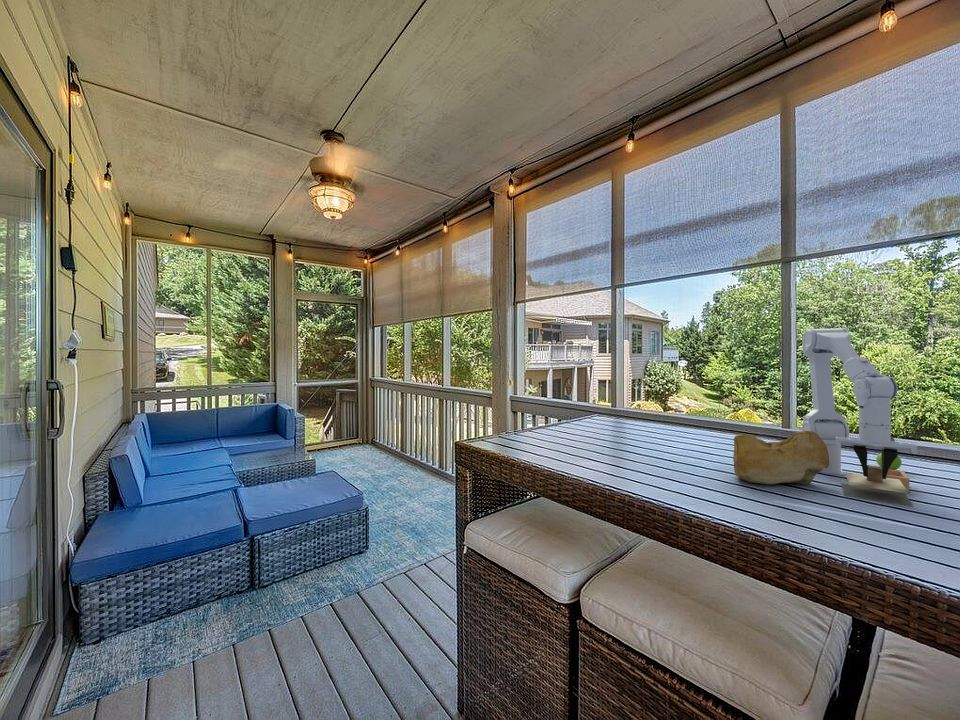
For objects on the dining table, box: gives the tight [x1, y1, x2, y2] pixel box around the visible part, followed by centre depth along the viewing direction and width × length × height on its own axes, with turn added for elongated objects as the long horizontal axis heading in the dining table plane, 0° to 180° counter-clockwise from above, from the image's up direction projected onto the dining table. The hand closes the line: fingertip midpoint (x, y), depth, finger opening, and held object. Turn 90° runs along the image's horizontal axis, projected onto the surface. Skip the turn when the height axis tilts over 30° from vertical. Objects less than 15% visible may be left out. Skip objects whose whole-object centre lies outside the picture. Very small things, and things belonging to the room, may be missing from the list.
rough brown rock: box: [732, 430, 829, 485], centre depth 115 cm, size 23×16×15 cm
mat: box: [840, 483, 915, 508], centre depth 100 cm, size 12×12×1 cm
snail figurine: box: [876, 436, 903, 470], centre depth 122 cm, size 5×6×12 cm
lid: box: [845, 464, 908, 494], centre depth 100 cm, size 10×10×4 cm
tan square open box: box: [886, 469, 910, 493], centre depth 107 cm, size 8×8×4 cm
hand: (874, 476), depth 100 cm, fingers closed on lid, 3 cm apart
